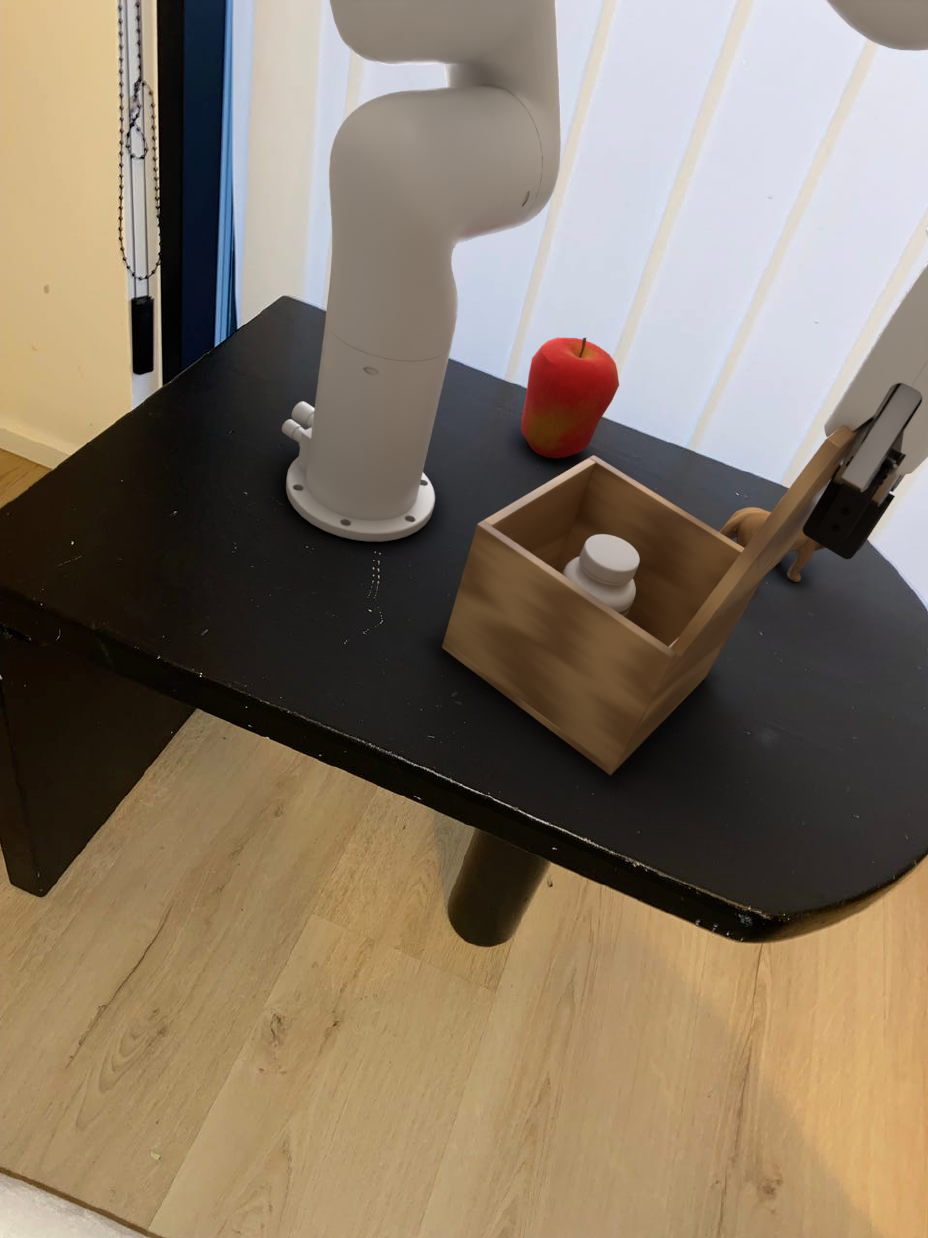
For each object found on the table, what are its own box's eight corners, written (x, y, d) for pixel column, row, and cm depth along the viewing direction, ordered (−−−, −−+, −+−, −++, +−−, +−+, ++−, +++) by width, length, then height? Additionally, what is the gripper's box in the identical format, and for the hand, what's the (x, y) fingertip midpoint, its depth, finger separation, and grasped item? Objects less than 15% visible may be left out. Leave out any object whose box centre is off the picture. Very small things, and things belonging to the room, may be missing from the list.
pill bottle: (602, 685, 70) (648, 587, 63) (532, 663, 70) (570, 563, 63) (608, 637, 74) (651, 540, 67) (542, 616, 74) (579, 518, 67)
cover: (826, 437, 45) (840, 447, 45) (919, 361, 54) (931, 369, 54) (669, 648, 56) (680, 657, 56) (769, 555, 66) (778, 562, 65)
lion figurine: (793, 541, 90) (838, 464, 84) (830, 577, 87) (879, 500, 81) (674, 561, 84) (714, 479, 78) (709, 601, 81) (753, 519, 75)
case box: (441, 647, 70) (476, 524, 62) (551, 570, 79) (593, 454, 71) (610, 776, 64) (672, 658, 56) (706, 676, 74) (770, 564, 66)
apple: (594, 479, 91) (635, 369, 83) (509, 461, 90) (542, 348, 82) (589, 431, 97) (627, 325, 89) (509, 414, 96) (540, 305, 88)
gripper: (987, 175, 49) (820, 467, 61) (893, 219, 39) (717, 556, 51) (1133, 236, 46) (928, 528, 58) (1072, 300, 36) (840, 635, 49)
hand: (829, 541), depth 55 cm, fingers closed
